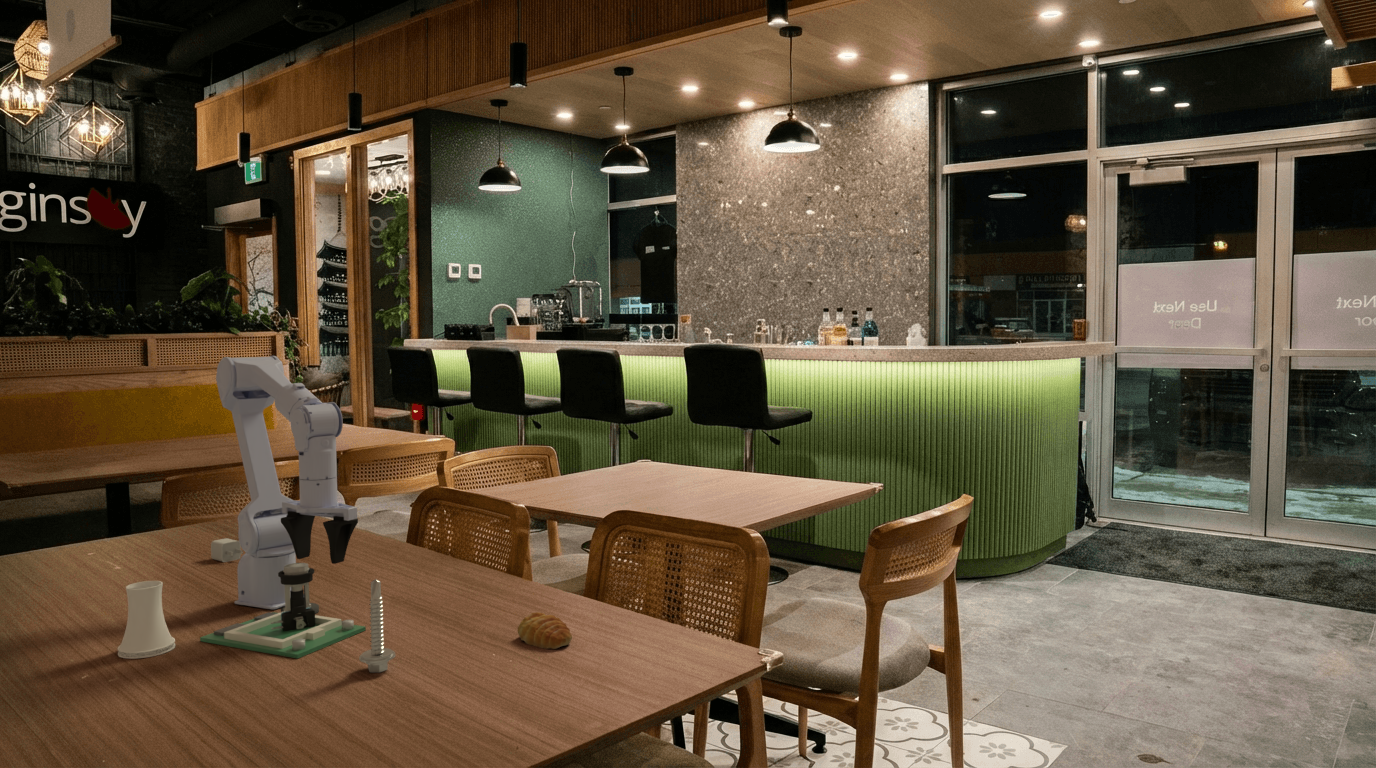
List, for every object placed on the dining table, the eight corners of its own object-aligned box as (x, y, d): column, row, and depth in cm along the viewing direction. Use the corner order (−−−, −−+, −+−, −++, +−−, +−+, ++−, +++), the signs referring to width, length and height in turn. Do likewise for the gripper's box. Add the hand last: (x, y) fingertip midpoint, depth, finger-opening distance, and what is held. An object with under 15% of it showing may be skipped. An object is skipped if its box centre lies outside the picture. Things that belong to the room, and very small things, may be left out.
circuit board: (200, 641, 145) (199, 629, 145) (272, 615, 158) (272, 605, 158) (297, 658, 137) (297, 646, 137) (365, 630, 150) (365, 619, 150)
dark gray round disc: (272, 617, 158) (272, 610, 158) (300, 608, 163) (300, 601, 163) (299, 622, 156) (299, 614, 155) (326, 611, 161) (326, 605, 161)
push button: (275, 636, 145) (273, 572, 145) (267, 628, 149) (265, 566, 149) (320, 628, 149) (318, 566, 149) (310, 620, 153) (309, 559, 153)
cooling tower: (115, 662, 136) (112, 594, 135) (119, 646, 143) (117, 582, 142) (174, 653, 140) (172, 587, 139) (175, 639, 146) (173, 575, 146)
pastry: (583, 645, 143) (583, 620, 143) (546, 655, 139) (545, 630, 138) (548, 630, 150) (548, 607, 150) (512, 640, 146) (511, 616, 145)
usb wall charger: (230, 556, 200) (229, 537, 200) (247, 560, 196) (246, 542, 196) (211, 559, 197) (210, 541, 197) (228, 564, 193) (228, 545, 193)
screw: (403, 667, 133) (375, 678, 129) (380, 661, 136) (352, 671, 132) (401, 577, 132) (373, 585, 128) (378, 572, 135) (349, 580, 131)
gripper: (265, 478, 152) (268, 560, 153) (333, 484, 146) (335, 570, 147) (300, 472, 159) (302, 551, 159) (365, 477, 153) (367, 560, 153)
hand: (320, 559), depth 154 cm, fingers open, 7 cm apart
